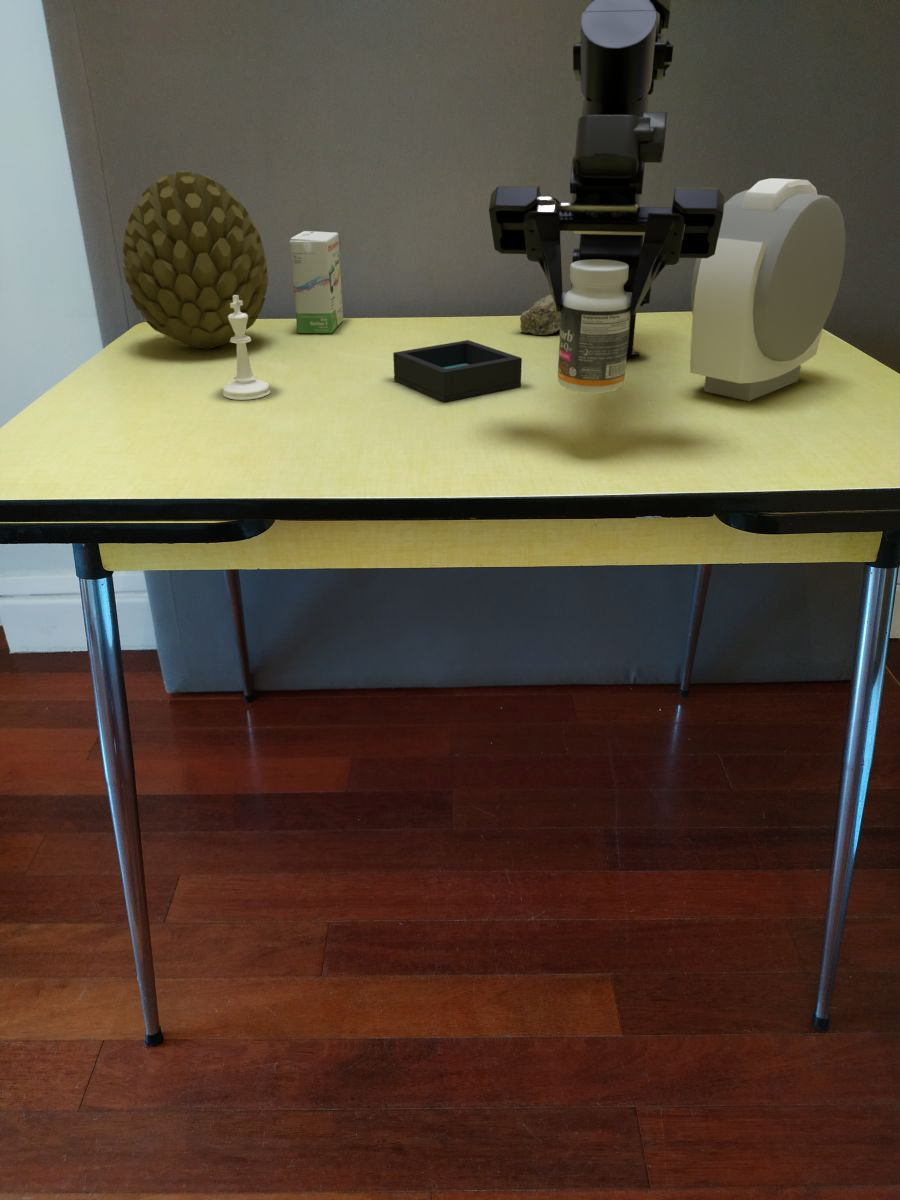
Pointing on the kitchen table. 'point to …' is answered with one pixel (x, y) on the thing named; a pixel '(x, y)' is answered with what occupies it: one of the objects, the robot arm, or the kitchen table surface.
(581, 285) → the pill bottle
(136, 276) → the decorative object
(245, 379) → the chess piece
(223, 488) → the kitchen table surface
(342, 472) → the kitchen table surface
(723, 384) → the alarm clock
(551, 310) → the rock
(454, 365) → the socket pad
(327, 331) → the ink box
